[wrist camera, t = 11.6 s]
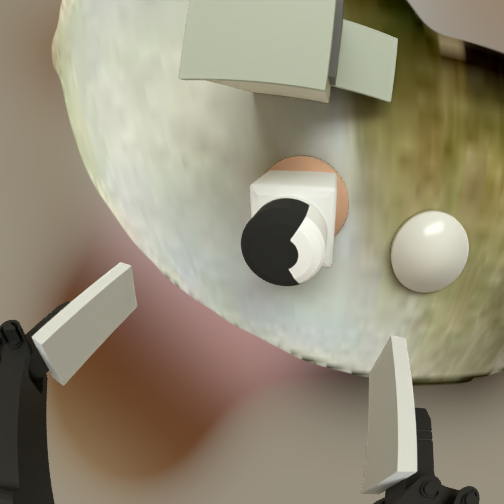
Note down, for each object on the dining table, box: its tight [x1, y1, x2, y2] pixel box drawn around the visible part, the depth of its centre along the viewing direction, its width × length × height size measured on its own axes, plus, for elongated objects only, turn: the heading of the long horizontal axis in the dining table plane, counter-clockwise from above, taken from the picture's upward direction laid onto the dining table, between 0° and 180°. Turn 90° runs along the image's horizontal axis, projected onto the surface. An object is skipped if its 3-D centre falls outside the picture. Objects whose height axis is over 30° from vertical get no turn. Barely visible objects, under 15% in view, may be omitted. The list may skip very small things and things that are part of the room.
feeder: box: [179, 0, 398, 103], centre depth 17 cm, size 14×10×15 cm
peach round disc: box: [265, 156, 349, 236], centre depth 30 cm, size 10×10×1 cm
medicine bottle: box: [241, 170, 337, 286], centre depth 25 cm, size 7×7×12 cm
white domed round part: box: [390, 210, 469, 293], centre depth 28 cm, size 10×10×1 cm
